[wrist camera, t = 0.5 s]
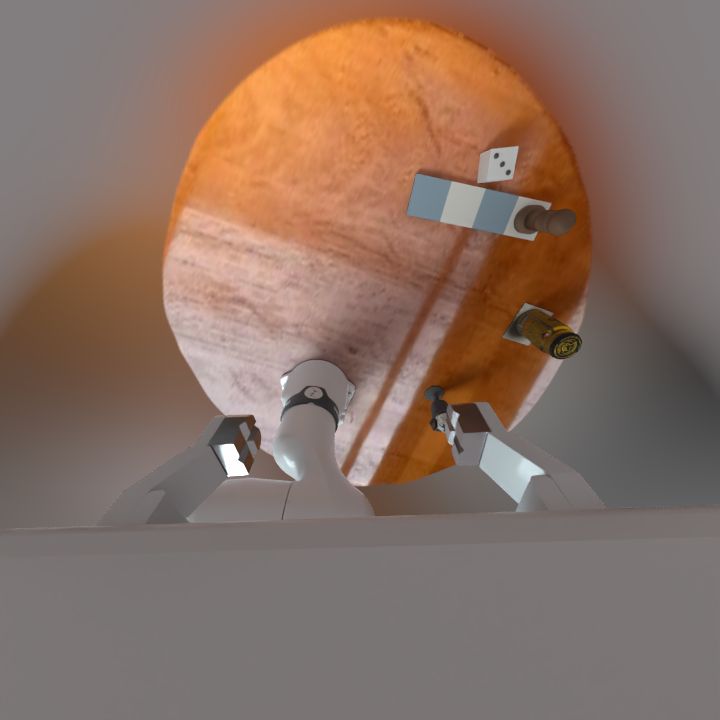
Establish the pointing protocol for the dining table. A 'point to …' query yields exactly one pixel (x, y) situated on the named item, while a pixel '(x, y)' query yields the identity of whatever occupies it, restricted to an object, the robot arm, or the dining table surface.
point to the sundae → (437, 408)
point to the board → (468, 206)
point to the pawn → (544, 220)
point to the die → (497, 164)
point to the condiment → (543, 332)
